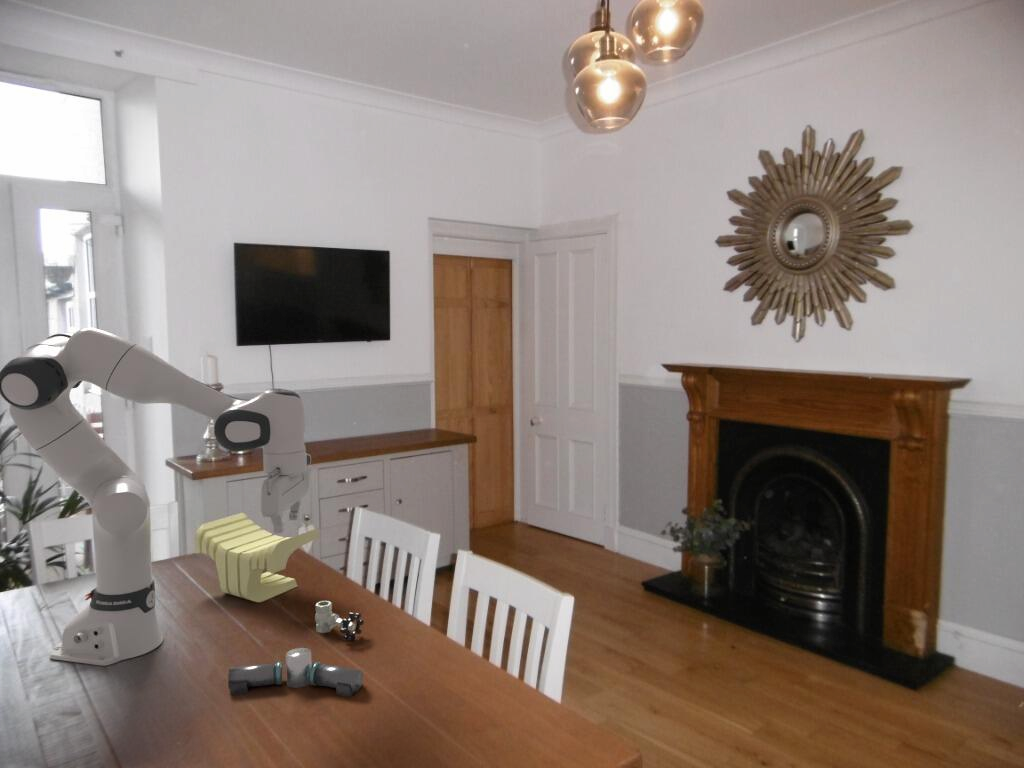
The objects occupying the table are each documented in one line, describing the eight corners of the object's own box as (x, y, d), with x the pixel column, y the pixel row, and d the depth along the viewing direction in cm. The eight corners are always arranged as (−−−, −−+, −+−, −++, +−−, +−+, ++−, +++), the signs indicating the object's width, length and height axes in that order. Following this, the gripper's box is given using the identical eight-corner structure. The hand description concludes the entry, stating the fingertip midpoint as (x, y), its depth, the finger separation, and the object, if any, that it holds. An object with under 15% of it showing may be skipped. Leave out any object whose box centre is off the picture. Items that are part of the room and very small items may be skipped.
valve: (307, 633, 171) (343, 646, 164) (306, 606, 170) (342, 618, 163) (328, 623, 176) (364, 635, 169) (328, 597, 175) (363, 608, 169)
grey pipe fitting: (228, 695, 143) (227, 674, 142) (232, 682, 148) (231, 662, 147) (281, 689, 145) (280, 668, 145) (283, 677, 150) (282, 656, 149)
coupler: (305, 688, 145) (304, 660, 145) (282, 686, 146) (281, 658, 146) (316, 676, 150) (315, 648, 150) (293, 674, 151) (292, 647, 151)
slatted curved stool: (197, 590, 197) (194, 526, 195) (245, 572, 210) (242, 512, 209) (273, 613, 182) (271, 544, 180) (320, 592, 195) (318, 528, 193)
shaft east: (364, 685, 147) (364, 664, 146) (352, 697, 142) (351, 676, 142) (321, 677, 150) (320, 657, 149) (307, 689, 145) (307, 668, 144)
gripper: (282, 474, 146) (284, 540, 147) (313, 454, 166) (315, 513, 167) (251, 474, 146) (254, 540, 147) (286, 454, 166) (288, 512, 168)
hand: (286, 525), depth 157 cm, fingers open, 8 cm apart
